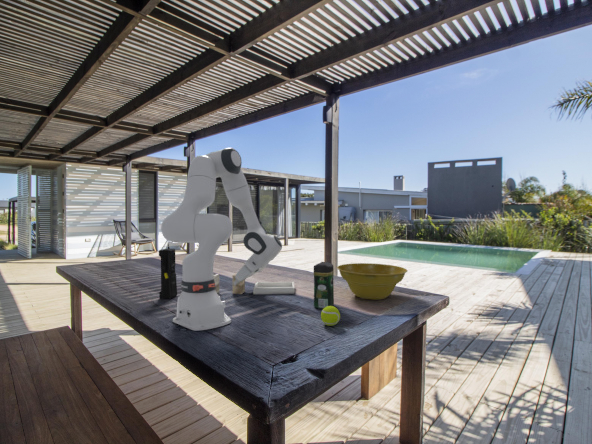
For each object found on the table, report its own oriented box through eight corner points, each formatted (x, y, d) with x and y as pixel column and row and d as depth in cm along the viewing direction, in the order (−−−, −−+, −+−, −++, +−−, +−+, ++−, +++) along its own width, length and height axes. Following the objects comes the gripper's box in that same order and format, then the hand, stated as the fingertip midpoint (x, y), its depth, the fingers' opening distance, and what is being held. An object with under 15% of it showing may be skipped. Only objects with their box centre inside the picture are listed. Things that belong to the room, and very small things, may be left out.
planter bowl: (398, 288, 163) (398, 263, 162) (416, 306, 131) (416, 274, 130) (335, 287, 166) (335, 262, 166) (338, 305, 134) (337, 273, 134)
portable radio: (171, 299, 143) (170, 245, 143) (158, 299, 144) (157, 245, 143) (178, 295, 151) (177, 243, 151) (165, 295, 151) (164, 243, 151)
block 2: (244, 291, 158) (244, 273, 158) (241, 294, 153) (241, 275, 153) (236, 291, 159) (236, 273, 159) (232, 293, 154) (232, 275, 154)
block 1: (219, 292, 158) (219, 273, 158) (215, 294, 153) (215, 275, 153) (211, 291, 159) (210, 273, 159) (206, 293, 154) (206, 275, 154)
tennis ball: (324, 329, 105) (324, 309, 105) (318, 323, 111) (318, 304, 111) (343, 327, 107) (343, 308, 106) (335, 321, 113) (335, 302, 113)
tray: (293, 287, 167) (293, 281, 167) (294, 293, 153) (294, 287, 153) (256, 287, 166) (256, 282, 166) (253, 294, 152) (253, 288, 152)
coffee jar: (317, 302, 138) (317, 260, 137) (335, 304, 135) (335, 261, 135) (311, 308, 128) (311, 263, 128) (330, 310, 126) (330, 264, 125)
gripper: (259, 255, 164) (241, 273, 167) (244, 261, 144) (225, 281, 147) (267, 264, 163) (249, 282, 166) (253, 271, 143) (234, 291, 146)
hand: (238, 282), depth 156 cm, fingers open, 8 cm apart
